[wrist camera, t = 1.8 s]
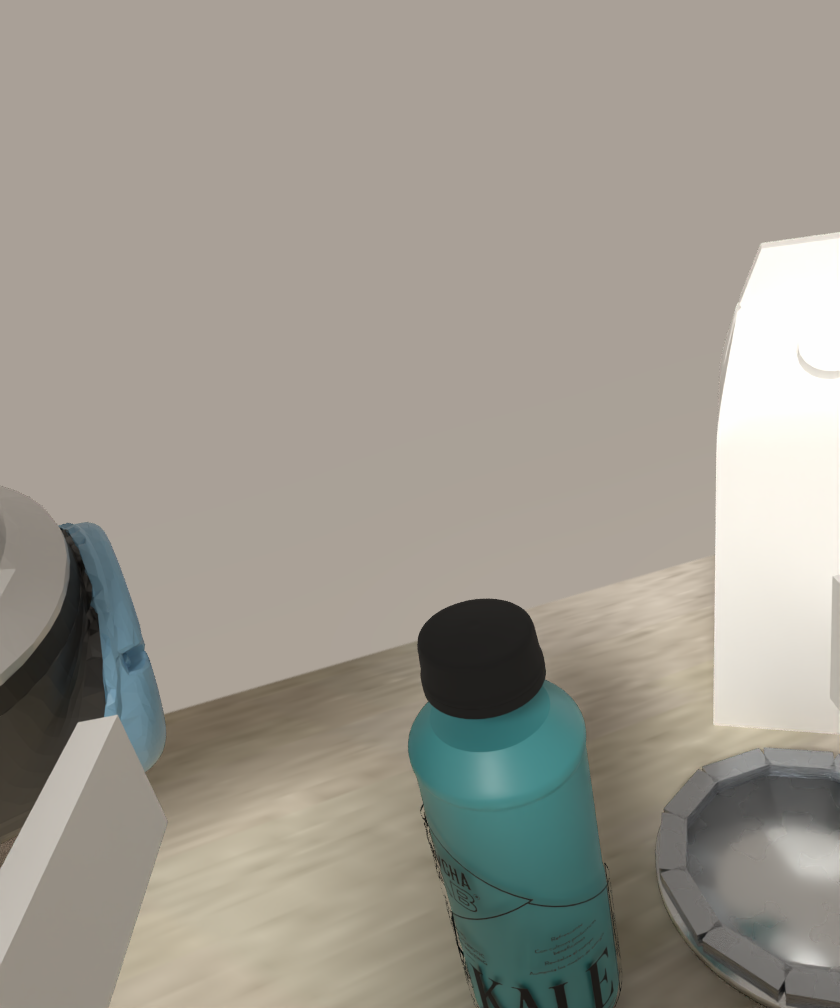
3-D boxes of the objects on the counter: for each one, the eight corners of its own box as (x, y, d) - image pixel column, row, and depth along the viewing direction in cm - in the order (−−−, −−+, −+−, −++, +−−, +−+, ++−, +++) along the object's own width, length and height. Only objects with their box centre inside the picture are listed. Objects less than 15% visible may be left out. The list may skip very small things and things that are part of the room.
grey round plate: (648, 996, 33) (645, 976, 33) (661, 754, 45) (660, 736, 44) (1050, 1067, 28) (1055, 1046, 28) (948, 774, 40) (951, 755, 39)
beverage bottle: (539, 905, 38) (467, 552, 30) (660, 993, 33) (616, 603, 25) (445, 1010, 35) (332, 643, 26) (565, 1125, 30) (476, 722, 21)
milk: (913, 616, 51) (948, 196, 40) (954, 743, 42) (1015, 240, 31) (716, 611, 56) (698, 233, 45) (713, 724, 46) (689, 282, 35)
